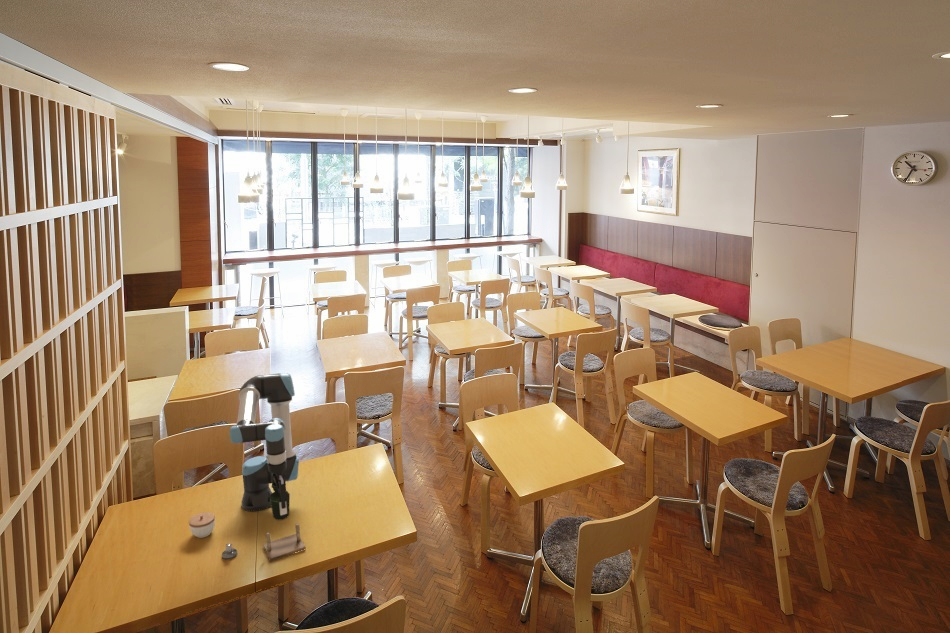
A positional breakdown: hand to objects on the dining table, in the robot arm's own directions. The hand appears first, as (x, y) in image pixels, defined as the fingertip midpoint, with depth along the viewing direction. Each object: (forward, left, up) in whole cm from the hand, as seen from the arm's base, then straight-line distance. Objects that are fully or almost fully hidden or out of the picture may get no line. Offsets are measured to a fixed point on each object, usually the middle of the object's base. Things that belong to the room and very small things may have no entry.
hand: (280, 509), depth 250 cm
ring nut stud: (-8, -21, -19) cm, 29 cm away
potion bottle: (0, 0, -3) cm, 3 cm away
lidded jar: (-31, -28, -19) cm, 46 cm away
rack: (0, 0, -19) cm, 19 cm away
